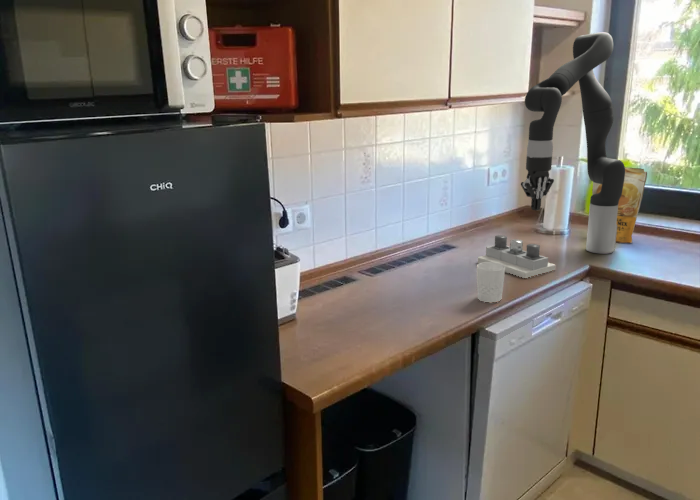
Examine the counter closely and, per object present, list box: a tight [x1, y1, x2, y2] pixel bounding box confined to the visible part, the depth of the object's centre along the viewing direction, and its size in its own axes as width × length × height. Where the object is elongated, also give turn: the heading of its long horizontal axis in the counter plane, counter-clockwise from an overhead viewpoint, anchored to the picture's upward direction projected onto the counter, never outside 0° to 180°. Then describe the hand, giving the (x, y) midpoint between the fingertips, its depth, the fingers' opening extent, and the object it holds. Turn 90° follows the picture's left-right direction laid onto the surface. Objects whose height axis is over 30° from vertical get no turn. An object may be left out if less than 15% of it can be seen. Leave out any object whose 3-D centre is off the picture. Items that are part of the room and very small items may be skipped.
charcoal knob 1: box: [494, 234, 508, 248], centre depth 197 cm, size 4×4×4 cm
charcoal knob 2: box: [526, 243, 541, 258], centre depth 185 cm, size 4×4×4 cm
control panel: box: [477, 244, 556, 279], centre depth 192 cm, size 14×21×5 cm, turn 32°
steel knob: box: [509, 238, 524, 253], centre depth 191 cm, size 4×4×4 cm
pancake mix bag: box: [591, 166, 648, 244], centre depth 219 cm, size 7×19×28 cm, turn 44°
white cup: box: [476, 262, 506, 303], centre depth 164 cm, size 8×8×10 cm
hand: (535, 209), depth 182 cm, fingers closed
